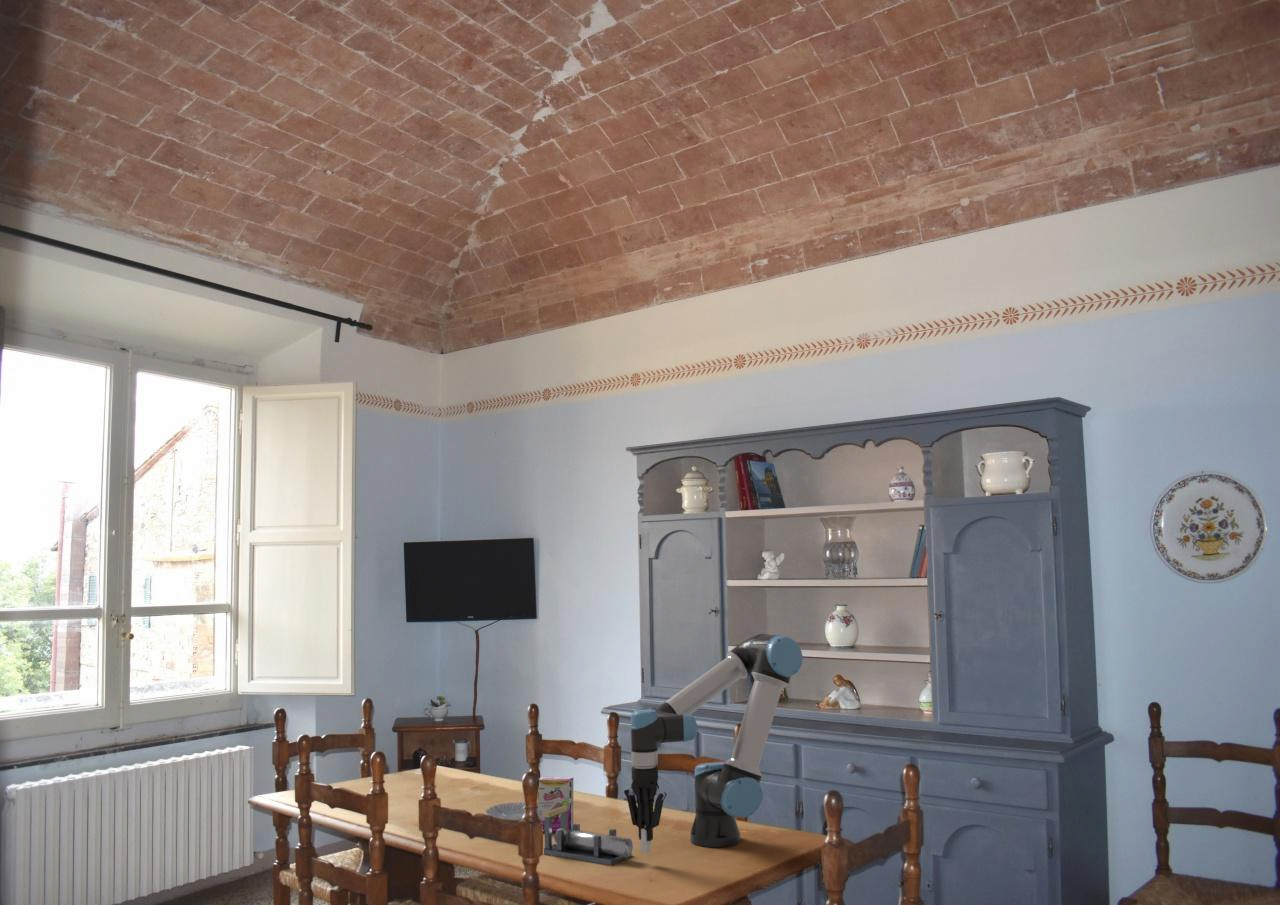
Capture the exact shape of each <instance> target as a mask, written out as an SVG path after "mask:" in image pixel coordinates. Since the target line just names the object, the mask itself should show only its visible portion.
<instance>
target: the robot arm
mask: <svg viewBox="0 0 1280 905" xmlns="http://www.w3.org/2000/svg"><path fill="white" fill-rule="evenodd" d="M803 658H804V657H803V653H802V649H801V648H800V646H799V644H798V643H797V642H796V641H795V640H794V639H792V638H791V637H788V636H786V635H781V634H777V635H776V634H768V633H758V634H756V635H755V634H754V635H752V636H750V637H749V638H747V639H745V640H743V641H742V642H741V643H739V644H737V645H736V646H735V647H734V648H732V649H730V650H729V651H727V653H726V656H725V658H724V659H723V660H721V661H720V662H718V663H717V664H715V666H713V667H711V668H710V669H709V670H708V671H706V672H704V674H702V675H700V676H699V677H698V678H697V679H695V680H694V681H692V682H691V683H690V684H688V685H687V686H685V687H684V688H682V689H681V690H680V691H678V692H677V693H675V695H674V694H673V696H672V697H670V698H669V699H667V700H666V701H664V702H663V703H661V704H660V705H658V706H657V707H651V708H650V707H649V708H647V709H635V710H634V711H633V712H632V713H631V716H630V717H631V718H630V739H631V740H630V741H631V743H630V744H631V745H630V746H631V749H630V750H631V752H630V753H631V754H630V756H631V757H630V758H631V761H630V763H631V766H632V767H631V780H632V782H631V784H630V785H631V786H630V787H629V788H627V789H625V790H624V791H623V793H624V795H625V797H626V800H627V804H628V808H629V810H628V811H629V814H630V820H631V824H632V825H633V826H635V827H637V828H638V840H640V841H641V842H640V847H641V848H640V849H641V851H640V852H641V854H644V855H645V854H648V853H650V852H652V849H651V848H652V845H651V844H652V842H651V841H653V839H654V828H656V827H659V826H660V822H661V816H662V811H663V804H664V801H665V799H666V797H667V792H665V791H664V792H663V791H662V790H661V789H660V786H659V784H658V780H659V767H658V766H657V765H658V763H659V762H658V761H659V760H658V758H659V756H658V746H659V745H658V744H664V743H678V742H682V743H685V742H688V741H693V740H694V739H695V738H696V737H697V733H698V724H697V721H696V718H695V717H694V716H695V715H692V714H693V713H694V712H696V711H697V710H699V709H700V708H701V707H703V706H704V705H705V704H707V703H709V702H710V701H711V700H713V699H715V698H716V696H718V695H720V694H721V693H722V692H724V691H726V689H728V688H729V687H730V686H732V685H733V684H734V683H735V682H737V681H738V680H740V679H743V680H745V679H747V678H748V677H750V676H752V677H753V684H752V687H751V691H750V693H749V697H748V700H747V704H746V707H745V710H744V714H743V716H742V720H741V723H740V728H739V731H738V734H737V737H736V740H735V743H734V747H733V750H732V754H731V756H730V758H728V759H727V760H726V761H723V762H722V761H719V762H718V761H717V762H705V763H700V764H698V765H695V768H694V776H693V778H694V796H695V798H694V801H695V802H694V803H695V804H694V805H695V816H694V820H693V823H692V825H691V826H692V827H691V830H690V842H691V843H692V844H694V845H696V846H700V847H705V848H725V847H732V846H735V845H737V844H739V843H740V842H741V831H740V830H739V826H738V823H737V819H736V818H740V819H743V818H749V817H750V816H752V815H753V814H755V813H756V812H757V811H758V810H759V808H760V807H761V805H762V803H763V802H762V801H763V798H764V796H763V790H762V786H761V779H762V777H763V776H762V775H763V774H762V773H761V771H760V764H761V763H762V762H761V761H762V757H763V754H764V751H765V747H766V744H767V740H768V738H769V734H770V730H771V727H772V725H773V720H774V717H775V713H776V710H777V707H778V703H779V700H780V696H781V693H782V690H783V689H784V688H787V687H788V686H789V684H790V682H791V679H792V678H791V677H792V676H794V675H795V674H797V673H799V671H800V669H801V667H802V664H803ZM654 802H655V803H654Z"/></svg>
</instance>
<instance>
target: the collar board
mask: <svg viewBox="0 0 1280 905" xmlns="http://www.w3.org/2000/svg"><path fill="white" fill-rule="evenodd" d="M559 813H561V828H564V829H568V807H567V806H562V807H559V808H556V809H553V810H550V811H548V812H545V813H544V818H545V832H544V848H543V849H544V854H543V855H545V856H550V855H552V857H556V856H557V858H562V857H563V859H568V858H569V860H576V861H580V862H581V861H582V862H585V863H586V862H587V863H592V864H598V865H603V866H604V865H605V866H610V865H611V866H613V865H615V864H617V862H618V863H619V862H621V861H624V860H626V859H627V858H630V857H632V856H633V855H632V854H633V852H632V853H631V855H630V856H629V857H622V856H616V855H610V854H604V853H601V836H599V835H596V836H594V852H592V851H586V850H580V849H574V848H567V847H564V830H558V831H557V845H556V844H555V843H554V844H553V837H552V836H553V832H552V816H554V815H557V814H559ZM573 830H577V831H581V824H579V823H574V825H573ZM608 835H609V836H616V837H617V829H616V828H615V829H614V828H611V829H609V830H608Z"/></svg>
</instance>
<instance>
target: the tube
mask: <svg viewBox="0 0 1280 905" xmlns="http://www.w3.org/2000/svg"><path fill="white" fill-rule="evenodd" d="M558 830H564V847H567V848H574V849H580V850H586V851H592V852H594V836H596V835H599V836H601V853H604V854H610V855H616V856H622V857H628V858H630V857H631V856H630V855H631V853H632V854H633V848H634V846H633V845H634V844H633V840H632V839H631V838H628V837H627V838H626V837H620V836H617V835H616V836H609V834H608V835H607V834H601V833H596V832H590V831H583V830H582V831H581V830H580V831H577V830H573V829H564V828H559V829H558ZM558 830H557V831H558ZM557 831H556V832H555V834H554V844H556V845H557ZM629 856H630V857H629Z"/></svg>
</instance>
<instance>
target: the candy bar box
mask: <svg viewBox="0 0 1280 905" xmlns="http://www.w3.org/2000/svg"><path fill="white" fill-rule="evenodd" d="M538 779H539V789H538V815H539V819H540V821H541V824H542V826H543V830H544V832H543V833H545V818H544V813H545V812H548V811H550V810H553V809H556V808H559V807H562V806H567V807H568V829H573V825H574V824H575V823H574V777H572V776H571V777H570V776H569V777H568V776H565V777H564V776H562V777H561V776H559V777H558V776H540V777H539V778H538ZM559 828H561V813H559V814H557V815H554V816H552V833H556V831H557V830H558V829H559Z"/></svg>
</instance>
